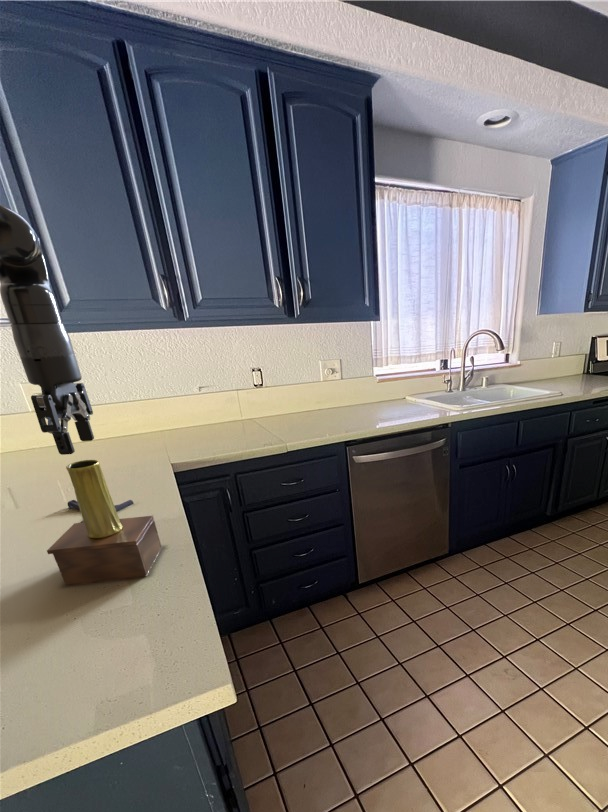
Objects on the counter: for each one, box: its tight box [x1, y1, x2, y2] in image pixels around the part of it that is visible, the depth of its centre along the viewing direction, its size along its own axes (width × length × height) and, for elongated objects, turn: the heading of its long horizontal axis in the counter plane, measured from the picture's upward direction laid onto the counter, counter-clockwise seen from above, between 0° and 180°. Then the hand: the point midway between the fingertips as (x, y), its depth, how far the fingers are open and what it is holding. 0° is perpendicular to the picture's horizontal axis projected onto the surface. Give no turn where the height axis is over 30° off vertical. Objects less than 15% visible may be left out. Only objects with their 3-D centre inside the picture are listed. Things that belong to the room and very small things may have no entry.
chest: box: [52, 519, 163, 587], centre depth 88 cm, size 15×12×8 cm
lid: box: [46, 515, 155, 555], centre depth 86 cm, size 15×12×1 cm
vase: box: [65, 459, 122, 538], centre depth 82 cm, size 6×6×14 cm
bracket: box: [67, 499, 134, 523], centre depth 114 cm, size 14×15×3 cm
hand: (78, 446), depth 78 cm, fingers open, 8 cm apart
